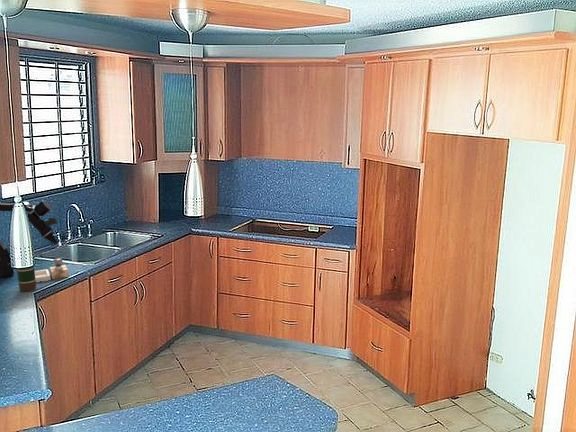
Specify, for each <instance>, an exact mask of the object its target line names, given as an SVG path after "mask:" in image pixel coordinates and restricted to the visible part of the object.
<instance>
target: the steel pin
mask: <svg viewBox="0 0 576 432" xmlns="http://www.w3.org/2000/svg"><path fill="white" fill-rule="evenodd" d="M52 260H53V267H56V270H57V269H62V265H63V258H61V257H59V258H54V259H52Z"/></svg>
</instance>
